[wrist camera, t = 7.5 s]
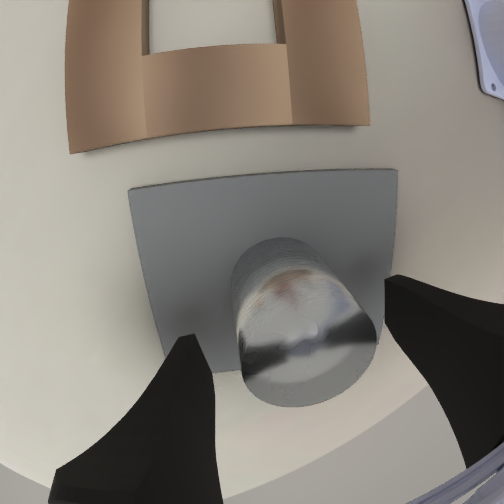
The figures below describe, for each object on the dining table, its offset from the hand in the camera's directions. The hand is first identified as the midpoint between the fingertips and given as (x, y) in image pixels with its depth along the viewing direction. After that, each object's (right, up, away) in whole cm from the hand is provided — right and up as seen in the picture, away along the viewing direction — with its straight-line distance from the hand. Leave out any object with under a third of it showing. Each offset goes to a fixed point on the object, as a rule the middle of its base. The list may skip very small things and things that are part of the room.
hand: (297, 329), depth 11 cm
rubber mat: (-1, +2, +4) cm, 4 cm away
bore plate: (-3, +13, -1) cm, 14 cm away
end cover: (0, +1, +3) cm, 4 cm away
